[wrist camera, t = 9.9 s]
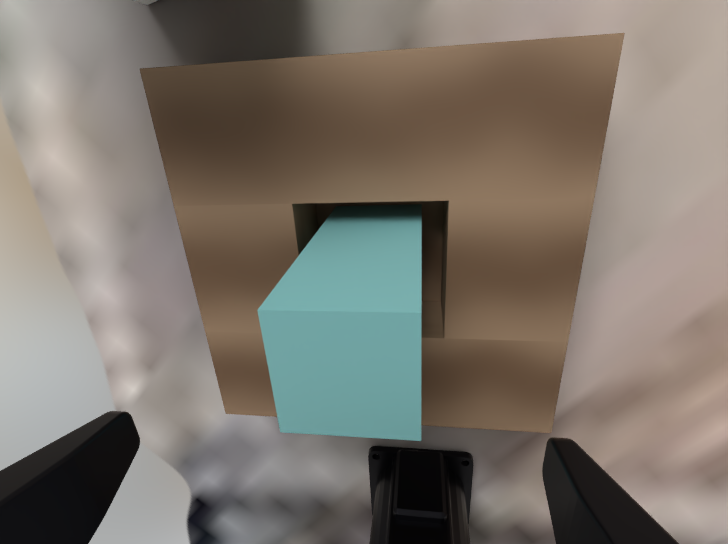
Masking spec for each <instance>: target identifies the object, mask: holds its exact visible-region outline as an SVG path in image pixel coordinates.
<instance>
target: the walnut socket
mask: <svg viewBox="0 0 728 544" xmlns="http://www.w3.org/2000/svg"><path fill="white" fill-rule="evenodd" d="M623 39H624V33H617V34H603V35H590V36H576V37H563V38H549V39H536V40H522V41H509V42H495V43H481V44H468V45H454V46H441V47H427V48H414V49H400V50H387V51H373V52H359V53H346V54H332V55H319V56H305V57H292V58H278V59H265V60H251V61H237V62H224V63H210V64H197V65H183V66H170V67H156V68H143V69H140V73H141V77H142V81H143V85H144V89H145V93H146V97H147V101H148V105H149V109H150V113H151V117H152V121H153V125H154V129H155V132H156V136H157V140H158V144H159V148H160V152H161V156H162V160H163V164H164V168H165V172H166V176H167V180H168V184H169V188H170V192H171V196H172V200H173V204H174V208H175V212H176V216H177V220H178V224H179V228H180V232H181V236H182V240H183V244H184V248H185V252H186V256H187V260H188V264H189V268H190V272H191V276H192V280H193V284H194V288H195V292H196V296H197V300H198V304H199V308H200V312H201V316H202V320H203V324H204V328H205V332H206V336H207V340H208V344H209V348H210V352H211V356H212V360H213V364H214V368H215V372H216V376H217V380H218V384H219V388H220V392H221V396H222V400H223V404H224V408H225V412H226V414H240V415H257V416H274V417H277V412H276V407H275V401H274V396H273V391H272V385H271V380H270V375H269V369H268V364H267V359H266V353H265V348H264V343H263V337H262V332H261V327H260V322H259V316H258V311H257V310H258V309H259V307H260V306H261V305H262V303H263V302H264V301H265V299H266V298H267V297H268V295H269V294H270V293H271V291H272V290H273V289H274V288H275V286H276V285H277V284H278V282H279V281H280V280H281V278H282V277H283V276H284V274H285V273H286V272H287V270H288V269H289V268H290V267H291V265H292V264H293V263H294V261H295V260H296V259H297V257H298V256H299V255H300V253H301V252H302V251H303V249H304V248H305V247H306V245H307V244H308V243H309V242H310V240H311V239H312V238H313V236H314V235H315V234H316V232H317V231H318V230H319V228H320V227H321V226H322V224H323V223H324V222H325V221H326V219H327V218H328V217H329V215H330V214H331V213H332V211H333V210H334V209H335V207H336V206H368V205H412V204H422V304H421V425H425V426H441V427H458V428H475V429H492V430H508V431H525V432H542V433H551V432H552V426H553V421H554V415H555V410H556V404H557V399H558V393H559V388H560V382H561V377H562V372H563V366H564V361H565V355H566V350H567V344H568V339H569V333H570V328H571V322H572V317H573V312H574V306H575V301H576V295H577V290H578V284H579V279H580V273H581V268H582V262H583V257H584V251H585V246H586V241H587V235H588V230H589V224H590V219H591V213H592V208H593V202H594V197H595V191H596V186H597V181H598V175H599V170H600V164H601V159H602V153H603V148H604V142H605V137H606V131H607V126H608V120H609V115H610V110H611V104H612V99H613V93H614V88H615V82H616V77H617V71H618V66H619V60H620V55H621V50H622V44H623Z"/></svg>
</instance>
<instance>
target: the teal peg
mask: <svg viewBox="0 0 728 544" xmlns="http://www.w3.org/2000/svg"><path fill="white" fill-rule="evenodd" d="M421 304H422V204H412V205H368V206H336V207H335V209H334V210H333V211H332V213H331V214H330V215H329V217H328V218H327V219H326V221H325V222H324V223H323V224H322V226H321V227H320V228H319V230H318V231H317V232H316V234H315V235H314V236H313V238H312V239H311V240H310V242H309V243H308V244H307V245H306V247H305V248H304V249H303V251H302V252H301V253H300V255H299V256H298V257H297V259H296V260H295V261H294V263H293V264H292V265H291V267H290V268H289V269H288V270H287V272H286V273H285V274H284V276H283V277H282V278H281V280H280V281H279V282H278V284H277V285H276V286H275V288H274V289H273V290H272V291H271V293H270V294H269V295H268V297H267V298H266V299H265V301H264V302H263V303H262V305H261V306H260V307H259V309H258V310H257V311H258V316H259V322H260V327H261V332H262V337H263V343H264V348H265V353H266V359H267V364H268V369H269V375H270V380H271V385H272V391H273V396H274V401H275V407H276V412H277V417H278V422H279V428H280V432H285V433H302V434H318V435H334V436H350V437H366V438H382V439H398V440H414V441H421Z"/></svg>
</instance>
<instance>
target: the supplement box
mask: <svg viewBox="0 0 728 544" xmlns="http://www.w3.org/2000/svg"><path fill="white" fill-rule="evenodd" d="M133 1H136V2H139V3H142V4H144V5H149V4H151V3H153V2H156V1H158V0H133Z"/></svg>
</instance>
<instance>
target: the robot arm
mask: <svg viewBox="0 0 728 544" xmlns="http://www.w3.org/2000/svg"><path fill="white" fill-rule="evenodd" d="M139 445H140V437H139V435H138V432H137V429H136V427H135V424H134V421H133V419H132V416H131V415H130V414H129V413H128V412H121V411H110V412H107V413H105V414H104V415H102V416H100V417H98V418H96V419H94V420H93V421H91V422H89V423H87V424H85V425H83V426H82V427H80V428H78V429H76V430H74V431H72V432H71V433H69V434H67V435H65V436H63V437H61V438H60V439H58V440H56V441H54V442H52V443H50V444H49V445H47V446H45V447H43V448H42V449H40V450H38V451H36V452H34V453H32V454H31V455H29V456H27V457H25V458H23V459H21V460H19V461H18V462H16V463H14V464H12V465H10V466H8V467H7V468H5V469H3V470H1V471H0V544H88V543H89V542H90V540H91V538H92V537H93V535H94V533H95V532H96V530H97V528H98V527H99V525H100V523H101V521H102V520H103V518H104V516H105V514H106V512H107V510H108V508H109V506H110V504H111V503H112V501H113V498H114V497H115V495H116V492H117V491H118V489H119V487H120V485H121V482H122V480H123V479H124V477H125V475H126V473H127V471H128V469H129V467H130V465H131V463H132V461H133V459H134V457H135V455H136V453H137V451H138V448H139ZM376 454H378V455H376ZM368 458H369V473H370V488H371V504H372V515H373V518H372V527H371V535H370V544H470V538H469V529H468V523H469V512H470V500H471V488H472V476H473V457H472V455H471V454H469V453H467V452H458V451H443V450H428V449H413V448H399V447H384V446H373V447H371V448H370V449H369V455H368ZM463 460H466V461H463ZM543 481H544V486H545V491H546V496H547V500H548V505H549V510H550V515H551V520H552V525H553V530H554V535H555V540H556V544H679V543H678V542H677V541H676V540H675V539H674V538H673V537H672V536H671V535H670V534H669V533H668V532H667V531H666V530H664V529H663V528H662V527H661V526H660V525H659V524H658V523H657V522H656V521H655V520H654V519H653V518H652V517H651V516H650V515H649V514H648V513H647V512H646V511H645V510H644V509H643V508H642V507H641V506H640V505H639V504H638V503H637V502H636V501H635V500H634V499H633V498H632V497H631V496H630V495H629V494H628V493H627V492H626V491H625V490H624V489H623V488H622V487H621V486H619V485H618V484H617V483H616V482H615V481H614V480H613V479H612V478H611V477H610V476H609V475H608V474H607V473H606V472H605V471H604V470H603V469H602V468H601V467H600V466H599V465H598V464H597V463H596V462H595V461H594V460H593V459H592V458H591V457H590V456H589V455H588V454H587V453H586V452H585V451H584V450H583V449H582V448H581V447H580V446H579V445H578V444H577V443H576V442H574V441H573V440H571V439H567V438H550V439H549V440H548V442H547V446H546V451H545V457H544V462H543Z"/></svg>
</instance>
